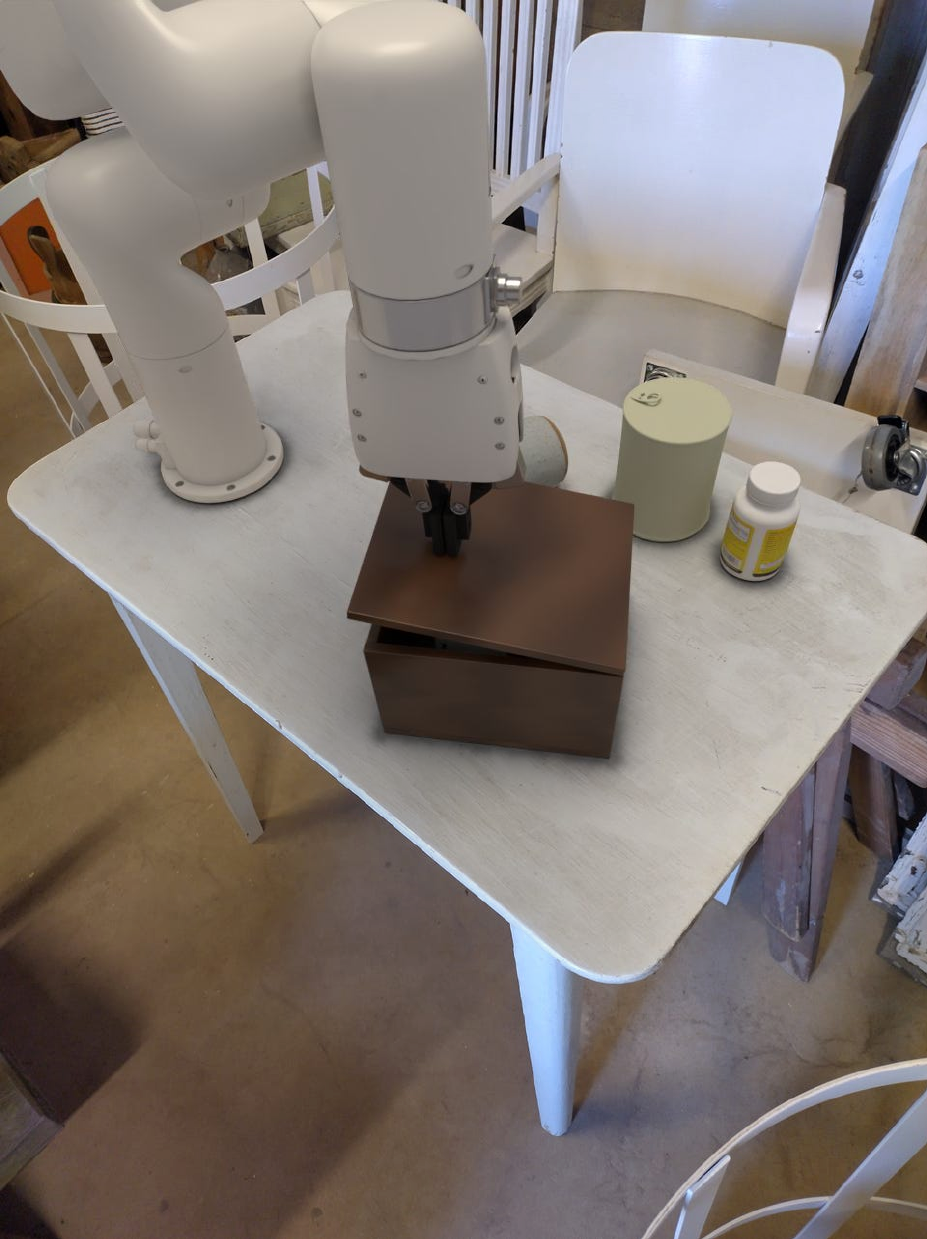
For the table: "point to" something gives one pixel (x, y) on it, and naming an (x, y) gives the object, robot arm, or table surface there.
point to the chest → (490, 696)
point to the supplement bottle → (761, 522)
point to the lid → (508, 576)
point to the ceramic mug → (543, 452)
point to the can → (671, 455)
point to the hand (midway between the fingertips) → (449, 541)
